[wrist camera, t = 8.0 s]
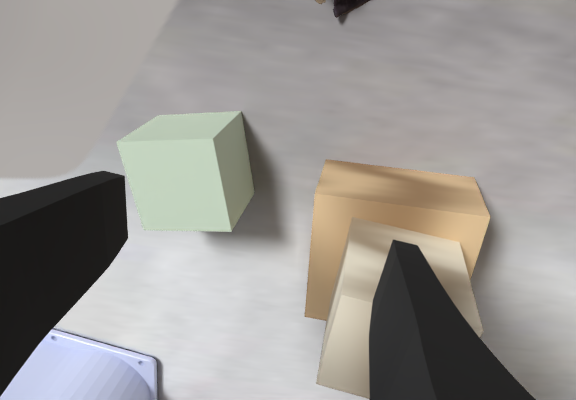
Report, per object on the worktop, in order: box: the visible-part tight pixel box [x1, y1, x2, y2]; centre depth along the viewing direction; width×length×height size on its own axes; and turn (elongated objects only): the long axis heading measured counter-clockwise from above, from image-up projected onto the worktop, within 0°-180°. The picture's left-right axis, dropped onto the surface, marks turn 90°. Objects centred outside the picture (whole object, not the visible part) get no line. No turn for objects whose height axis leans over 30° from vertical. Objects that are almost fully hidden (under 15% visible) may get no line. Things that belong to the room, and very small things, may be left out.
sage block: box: [116, 111, 255, 232], centre depth 21 cm, size 4×4×4 cm
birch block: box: [316, 217, 483, 399], centre depth 17 cm, size 4×4×5 cm
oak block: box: [305, 160, 490, 321], centre depth 21 cm, size 7×7×4 cm
